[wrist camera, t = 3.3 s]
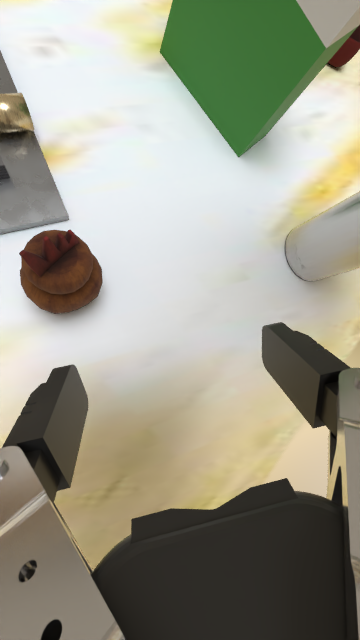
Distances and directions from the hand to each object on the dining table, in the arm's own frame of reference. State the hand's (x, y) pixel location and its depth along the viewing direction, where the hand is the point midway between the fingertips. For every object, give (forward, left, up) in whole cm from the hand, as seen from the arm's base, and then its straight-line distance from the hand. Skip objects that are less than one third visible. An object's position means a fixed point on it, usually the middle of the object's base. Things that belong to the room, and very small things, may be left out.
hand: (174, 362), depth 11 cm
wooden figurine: (+2, -9, -20) cm, 22 cm away
